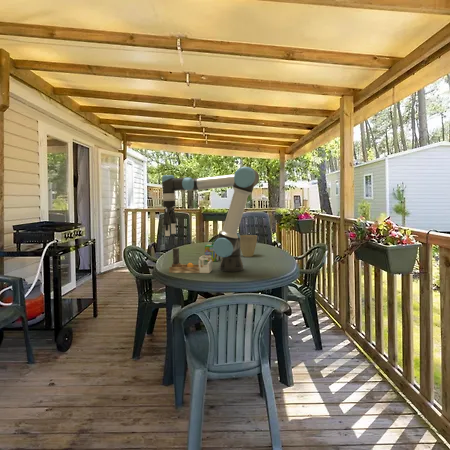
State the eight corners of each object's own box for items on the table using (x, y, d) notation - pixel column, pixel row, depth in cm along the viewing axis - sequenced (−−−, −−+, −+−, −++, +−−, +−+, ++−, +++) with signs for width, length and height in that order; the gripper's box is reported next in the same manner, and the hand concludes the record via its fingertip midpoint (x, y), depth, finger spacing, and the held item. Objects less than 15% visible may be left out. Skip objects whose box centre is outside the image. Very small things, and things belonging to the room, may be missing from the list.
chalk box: (209, 259, 265) (208, 239, 264) (220, 259, 262) (220, 239, 261) (204, 261, 256) (204, 240, 255) (216, 261, 253) (216, 241, 252)
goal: (212, 269, 225) (212, 255, 224) (209, 273, 215) (209, 258, 214) (202, 269, 226) (201, 255, 225) (198, 272, 216) (198, 258, 215)
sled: (180, 267, 226) (180, 248, 225) (178, 269, 220) (177, 249, 219) (174, 267, 226) (174, 247, 225) (171, 269, 220) (171, 249, 219)
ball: (194, 268, 223) (194, 262, 223) (192, 269, 219) (192, 263, 219) (187, 268, 224) (187, 262, 224) (186, 269, 220) (186, 263, 220)
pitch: (203, 269, 227) (203, 264, 226) (199, 273, 215) (199, 268, 215) (174, 268, 229) (174, 263, 229) (168, 272, 218) (168, 267, 217)
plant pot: (239, 254, 285) (239, 234, 284) (258, 254, 282) (258, 235, 281) (236, 257, 271) (236, 236, 269) (256, 258, 268) (256, 237, 266)
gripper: (168, 200, 232) (170, 233, 233) (156, 200, 207) (158, 237, 208) (180, 200, 231) (181, 232, 232) (169, 200, 206) (171, 236, 208)
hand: (170, 234), depth 220 cm, fingers open, 13 cm apart
